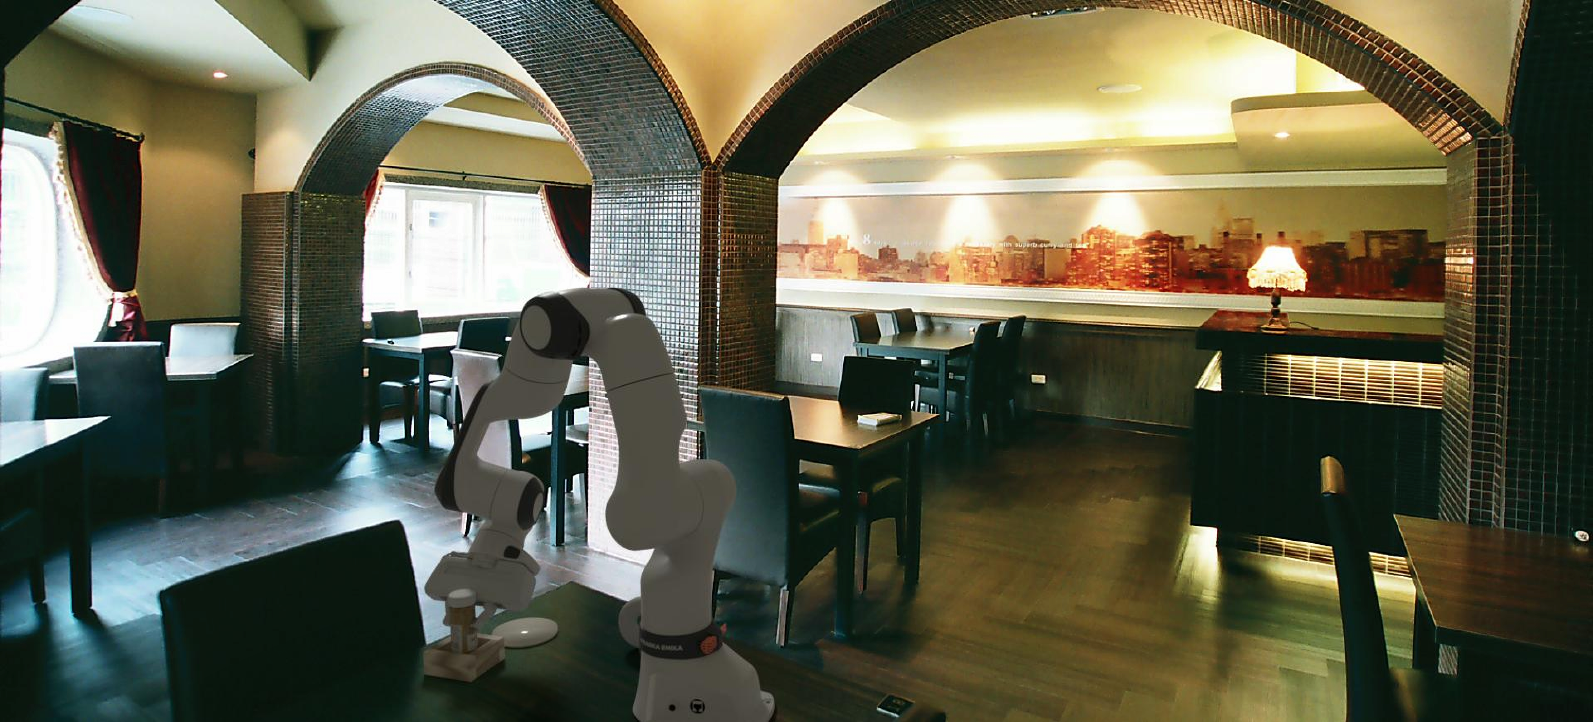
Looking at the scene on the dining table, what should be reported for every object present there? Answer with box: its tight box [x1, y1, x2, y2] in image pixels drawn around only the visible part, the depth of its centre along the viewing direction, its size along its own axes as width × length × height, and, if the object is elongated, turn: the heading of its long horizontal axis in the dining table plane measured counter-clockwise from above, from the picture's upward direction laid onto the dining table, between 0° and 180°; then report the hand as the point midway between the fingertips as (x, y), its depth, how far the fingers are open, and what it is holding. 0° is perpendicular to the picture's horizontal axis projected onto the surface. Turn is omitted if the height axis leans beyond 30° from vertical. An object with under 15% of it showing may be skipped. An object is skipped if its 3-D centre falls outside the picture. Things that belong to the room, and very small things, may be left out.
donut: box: [617, 595, 641, 649], centre depth 167 cm, size 10×3×10 cm, turn 82°
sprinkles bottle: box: [448, 589, 478, 655], centre depth 160 cm, size 5×5×14 cm
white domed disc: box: [491, 617, 559, 648], centre depth 174 cm, size 12×12×1 cm
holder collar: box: [422, 632, 506, 683], centre depth 160 cm, size 10×10×4 cm
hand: (461, 627), depth 159 cm, fingers closed on sprinkles bottle, 4 cm apart
